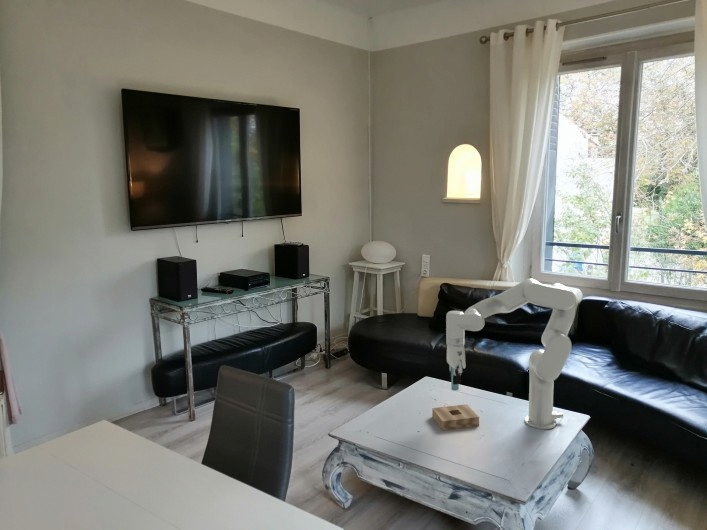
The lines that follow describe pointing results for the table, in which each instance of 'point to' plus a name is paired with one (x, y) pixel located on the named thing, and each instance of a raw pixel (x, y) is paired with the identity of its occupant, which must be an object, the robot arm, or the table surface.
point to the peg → (453, 387)
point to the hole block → (455, 417)
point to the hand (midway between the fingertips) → (455, 381)
